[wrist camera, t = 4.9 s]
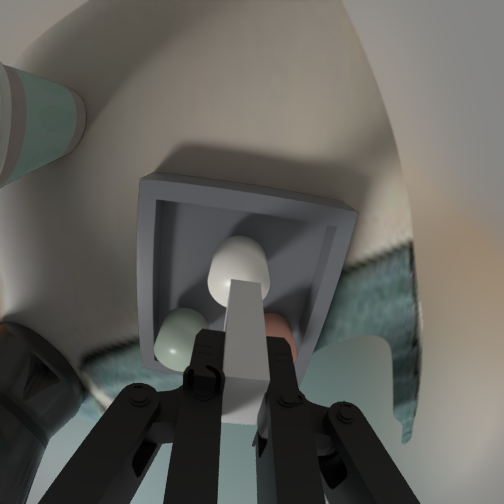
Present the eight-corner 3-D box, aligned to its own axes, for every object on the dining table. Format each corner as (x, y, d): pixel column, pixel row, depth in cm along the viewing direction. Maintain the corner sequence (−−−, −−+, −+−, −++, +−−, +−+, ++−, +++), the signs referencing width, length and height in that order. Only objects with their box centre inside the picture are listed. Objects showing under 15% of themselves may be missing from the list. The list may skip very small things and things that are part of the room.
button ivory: (210, 280, 20) (205, 305, 18) (216, 232, 19) (211, 250, 16) (261, 287, 21) (263, 313, 18) (270, 239, 19) (275, 260, 16)
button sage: (163, 340, 22) (154, 366, 20) (163, 304, 21) (153, 329, 18) (206, 347, 23) (202, 375, 20) (210, 311, 21) (206, 338, 18)
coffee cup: (65, 53, 15) (-41, 26, 4) (122, 116, 18) (8, 113, 7) (10, 131, 17) (-93, 153, 6) (58, 195, 20) (-47, 252, 9)
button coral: (243, 345, 24) (243, 371, 21) (250, 310, 22) (251, 336, 20) (285, 349, 24) (290, 375, 21) (295, 315, 23) (302, 340, 20)
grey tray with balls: (150, 345, 26) (142, 367, 23) (153, 172, 20) (139, 178, 17) (294, 364, 27) (299, 386, 24) (343, 201, 21) (357, 212, 18)
